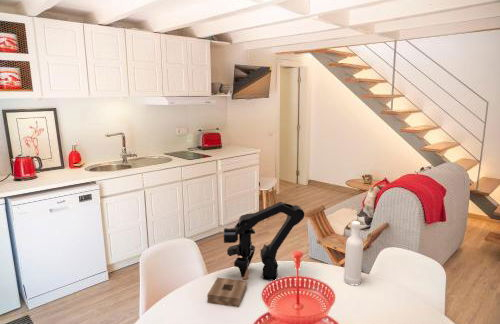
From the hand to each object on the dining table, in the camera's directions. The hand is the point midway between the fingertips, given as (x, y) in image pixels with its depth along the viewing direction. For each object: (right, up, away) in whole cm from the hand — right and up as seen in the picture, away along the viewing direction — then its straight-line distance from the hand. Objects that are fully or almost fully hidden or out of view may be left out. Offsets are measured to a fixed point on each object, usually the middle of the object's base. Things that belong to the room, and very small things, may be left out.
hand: (245, 271), depth 161 cm
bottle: (+52, -4, -2) cm, 52 cm away
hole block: (-7, -6, -14) cm, 17 cm away
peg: (0, -3, +1) cm, 3 cm away
